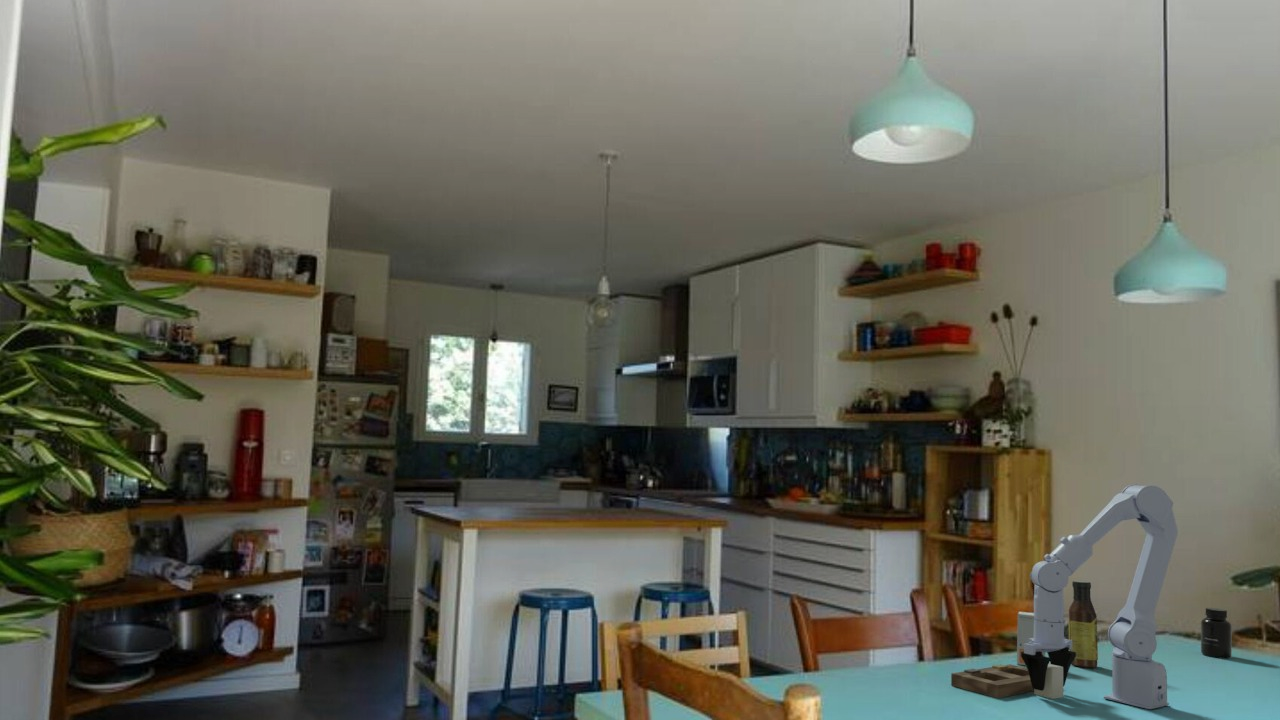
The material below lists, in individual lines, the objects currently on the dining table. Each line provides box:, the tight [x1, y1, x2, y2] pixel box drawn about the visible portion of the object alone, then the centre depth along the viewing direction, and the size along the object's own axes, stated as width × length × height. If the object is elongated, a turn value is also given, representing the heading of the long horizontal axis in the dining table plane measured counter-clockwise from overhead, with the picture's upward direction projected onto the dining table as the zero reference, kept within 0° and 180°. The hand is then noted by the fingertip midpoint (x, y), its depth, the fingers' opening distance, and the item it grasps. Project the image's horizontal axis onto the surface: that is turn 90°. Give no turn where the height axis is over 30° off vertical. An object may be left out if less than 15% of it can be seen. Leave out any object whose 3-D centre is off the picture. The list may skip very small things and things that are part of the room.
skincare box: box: [1016, 611, 1046, 666], centre depth 222 cm, size 6×4×12 cm
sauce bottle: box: [1068, 580, 1099, 669], centre depth 224 cm, size 7×6×20 cm
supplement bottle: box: [1200, 607, 1233, 659], centre depth 244 cm, size 7×7×12 cm
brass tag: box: [991, 663, 1008, 669], centre depth 205 cm, size 2×3×1 cm, turn 125°
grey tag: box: [963, 668, 981, 674], centre depth 199 cm, size 2×3×1 cm, turn 125°
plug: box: [1033, 663, 1064, 700], centre depth 192 cm, size 4×4×6 cm
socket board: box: [950, 663, 1034, 699], centre depth 198 cm, size 11×21×2 cm, turn 125°
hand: (1048, 687), depth 192 cm, fingers open, 7 cm apart
